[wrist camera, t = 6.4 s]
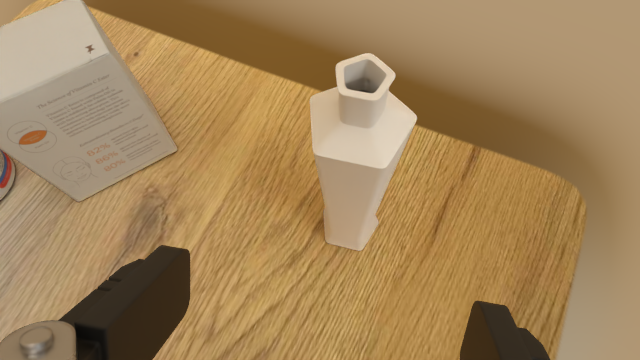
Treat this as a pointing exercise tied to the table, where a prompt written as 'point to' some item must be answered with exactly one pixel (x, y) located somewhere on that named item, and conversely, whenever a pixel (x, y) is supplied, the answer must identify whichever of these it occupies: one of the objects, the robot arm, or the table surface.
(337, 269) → the table surface
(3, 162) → the pill bottle
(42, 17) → the small box
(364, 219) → the cream faceted vase
